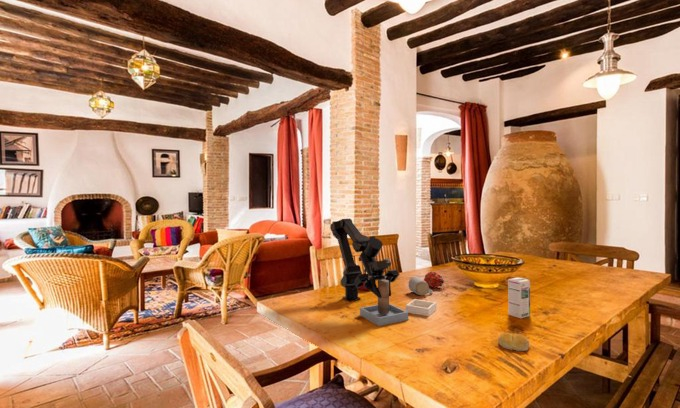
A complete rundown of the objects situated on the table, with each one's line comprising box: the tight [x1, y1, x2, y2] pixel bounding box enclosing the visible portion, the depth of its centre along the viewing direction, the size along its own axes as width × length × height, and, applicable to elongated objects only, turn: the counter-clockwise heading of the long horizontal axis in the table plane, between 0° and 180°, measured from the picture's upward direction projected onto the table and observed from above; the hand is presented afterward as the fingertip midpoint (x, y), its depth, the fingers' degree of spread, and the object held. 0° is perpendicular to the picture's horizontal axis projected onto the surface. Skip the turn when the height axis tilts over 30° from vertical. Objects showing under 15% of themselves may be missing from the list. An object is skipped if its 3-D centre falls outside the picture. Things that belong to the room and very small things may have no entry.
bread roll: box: [497, 332, 530, 352], centre depth 118 cm, size 8×9×4 cm
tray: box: [359, 303, 409, 327], centre depth 145 cm, size 14×14×3 cm
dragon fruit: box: [423, 271, 445, 289], centre depth 189 cm, size 8×8×12 cm
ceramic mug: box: [407, 276, 434, 297], centre depth 178 cm, size 11×8×8 cm
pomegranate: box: [358, 272, 369, 291], centre depth 188 cm, size 10×10×9 cm
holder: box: [405, 298, 437, 317], centre depth 153 cm, size 10×10×3 cm
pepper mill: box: [377, 280, 390, 314], centre depth 145 cm, size 4×4×12 cm
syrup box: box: [507, 277, 531, 319], centre depth 146 cm, size 6×6×14 cm
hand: (385, 296), depth 144 cm, fingers closed on pepper mill, 4 cm apart
